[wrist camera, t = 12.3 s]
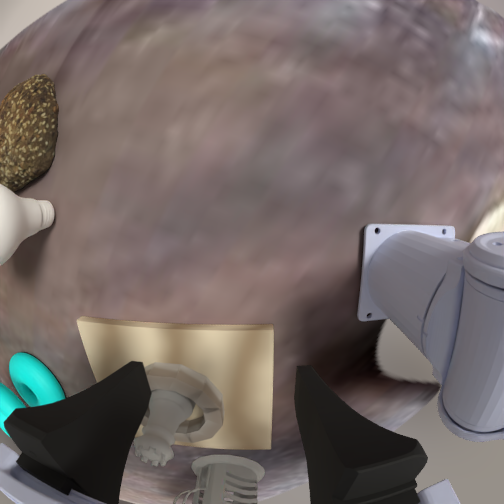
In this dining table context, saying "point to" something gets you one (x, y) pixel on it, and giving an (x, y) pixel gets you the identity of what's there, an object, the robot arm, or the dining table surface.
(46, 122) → the bread roll
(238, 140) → the dining table surface
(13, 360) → the donuts
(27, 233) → the lightbulb
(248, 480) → the french press
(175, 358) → the ring board
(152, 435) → the rook chess piece
